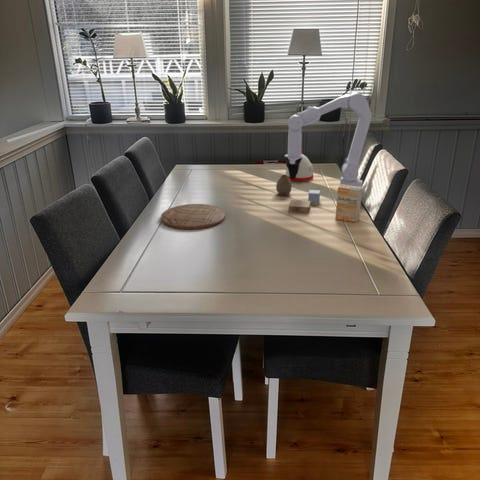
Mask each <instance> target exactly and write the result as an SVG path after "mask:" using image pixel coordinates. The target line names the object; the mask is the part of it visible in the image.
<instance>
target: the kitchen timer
mask: <svg viewBox="0 0 480 480" xmlns="http://www.w3.org/2000/svg"><path fill="white" fill-rule="evenodd" d="M301 155H302V160H301V162H300V165H299V169H298V173H297V174H296V178H295V179H290V175H289V170H288V167H287V166H286V168H285V175H287V177H288V178H289V180H290V181H295V182H304V181H311V180H313V179H314V169H313V167H314V166H313V163H311V161H310V159H309V158H308V157H307V156H306V155H304V154H303V148H302V146H301Z"/></svg>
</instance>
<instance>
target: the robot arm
mask: <svg viewBox="0 0 480 480" xmlns="http://www.w3.org/2000/svg"><path fill="white" fill-rule="evenodd" d="M348 106H349V107H348ZM339 108H342V109H348V108H350V109H351V110H352V111H354V112H355V113H356V115H357V117H358V119H357V120H358V121H357V124H356V126H355V127H356V128H355V131H354V135H353V138H352V141H351V145H350V148H349V152H348V155H347V157H346V160H345V162H344V163H343V164H342V165H341V172H342V176H341V177H340V180H339V181H340V182H339V186H340V185H341V184H344V185H351V186H357V187H362V188H363V180H362V179H359V178H358V177H359V165H360V159H361V155H362V151H363V148H364V145H365V141H366V138H367V135H368V131H369V128H370V124H371V122H372V118H373V114H372V112H371V107H370V105H369V101H368V100H367V99H366V97H365V96H364V95H363V94H362V93H361V92H359V91H357V90H355V91H352V92H350V93H346V94H344V95H343V94H342V95H341V96H339V97H337V98H335V99H333V100H331V101H329V102H326V103H325V104H323V105H320V106H319V107H317V106H310V105H309V106H307V109H305V110H303V111H301V112H299V111H298V112H297V113H296V114H293V115H291V116H290V117H289V119H288V121H287V126H288V134H287V154H284V158H288V159H287V160H289V161H286V163H285V166H286V167H288V170H289V175H290V179H295V178H296V174H297V173H298V169H299V165H300V162H301V160H302V155H301V147H302V146H303V145H302V144H303V143H302V141H303V139H302V137H303V133H302V127H305V126H308V125H310V124H313V123H314V122H318V121H319V120H320V118H321V116H322V115H324V114H327V113H330V112H332V111H335V110H337V109H339ZM361 198H363V194H362V195H361Z"/></svg>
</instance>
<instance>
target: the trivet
mask: <svg viewBox="0 0 480 480" xmlns="http://www.w3.org/2000/svg"><path fill="white" fill-rule="evenodd" d="M225 219H226V212H225V210H224V209H222V207H219V206H216V205H212V204H207V203H186V204H182V205H181V204H180V205H177V206H176V205H175V206H173V207H170V208H168V209H166V210H165V211H163V212H162V213H161V215H160V221H161V223H162V225H164V226H165V227H167V228H169V229H174V230H179V231H180V230H181V231H198V230H204V229H208V228H209V229H210V228H213V227H215V226H218V225H220V224H222V223H223V222H224V221H225Z"/></svg>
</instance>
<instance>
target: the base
mask: <svg viewBox="0 0 480 480" xmlns="http://www.w3.org/2000/svg"><path fill="white" fill-rule="evenodd" d="M310 202H311V201H308V200H303V199H302V200H297V199H291V200H290V201H289V205H288V213H294V214H295V213H296V214H309V213H310V210H311V203H310Z"/></svg>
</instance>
